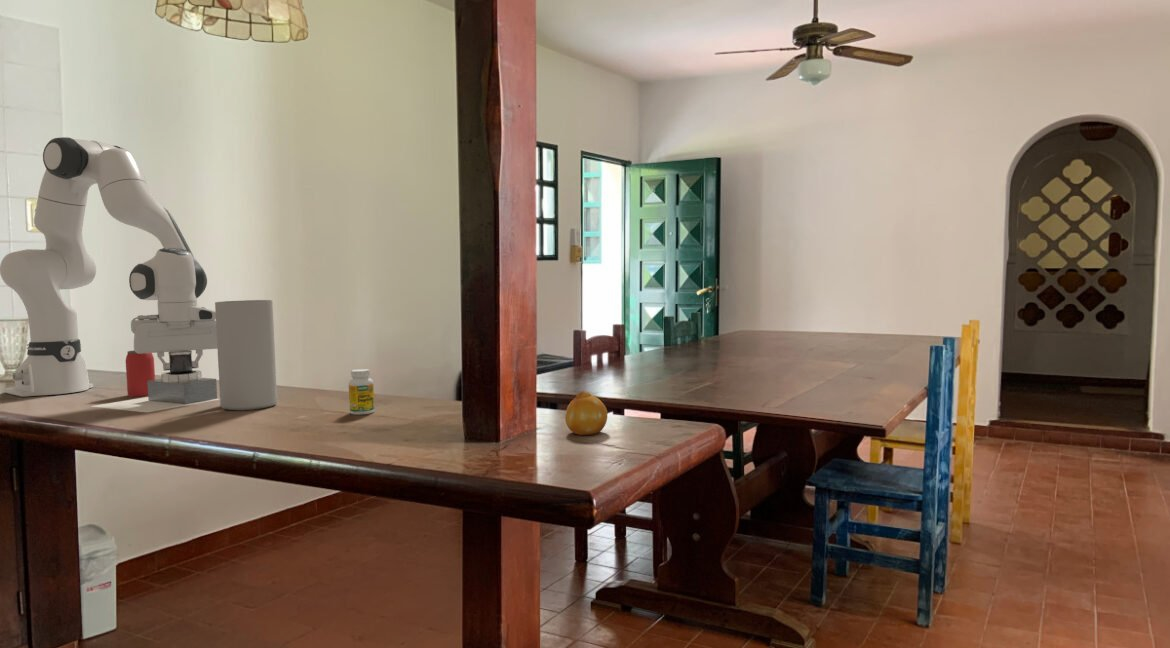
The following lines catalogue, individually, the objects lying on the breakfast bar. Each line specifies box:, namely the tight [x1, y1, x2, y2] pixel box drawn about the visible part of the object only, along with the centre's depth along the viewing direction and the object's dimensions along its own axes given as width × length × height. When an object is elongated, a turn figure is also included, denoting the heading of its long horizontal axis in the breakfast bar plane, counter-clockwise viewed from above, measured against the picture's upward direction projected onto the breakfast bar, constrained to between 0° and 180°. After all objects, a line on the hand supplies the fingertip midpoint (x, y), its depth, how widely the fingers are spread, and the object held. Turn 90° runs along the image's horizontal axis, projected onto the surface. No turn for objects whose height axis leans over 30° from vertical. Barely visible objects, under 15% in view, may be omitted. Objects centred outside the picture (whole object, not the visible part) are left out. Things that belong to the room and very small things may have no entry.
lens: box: [167, 350, 193, 374], centre depth 207 cm, size 5×5×7 cm
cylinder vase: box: [214, 299, 278, 412], centre depth 197 cm, size 12×12×25 cm
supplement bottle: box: [348, 368, 375, 416], centre depth 185 cm, size 5×5×10 cm
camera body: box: [147, 369, 218, 404], centre depth 208 cm, size 14×9×7 cm, turn 61°
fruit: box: [564, 391, 608, 436], centre depth 158 cm, size 8×8×8 cm
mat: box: [90, 396, 220, 414], centre depth 204 cm, size 22×20×1 cm
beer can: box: [125, 349, 156, 398], centre depth 217 cm, size 7×7×12 cm
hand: (181, 369), depth 207 cm, fingers closed on lens, 5 cm apart
